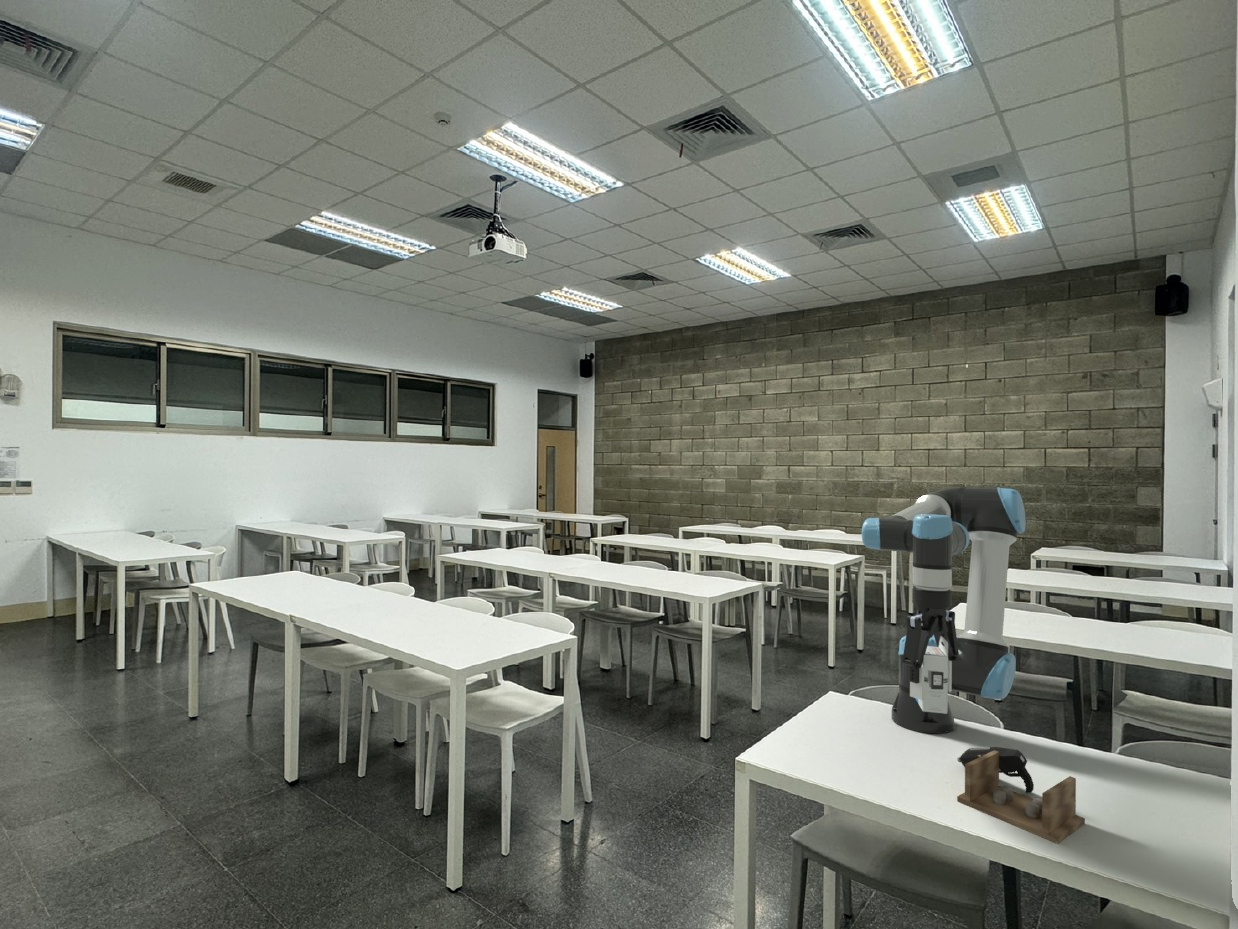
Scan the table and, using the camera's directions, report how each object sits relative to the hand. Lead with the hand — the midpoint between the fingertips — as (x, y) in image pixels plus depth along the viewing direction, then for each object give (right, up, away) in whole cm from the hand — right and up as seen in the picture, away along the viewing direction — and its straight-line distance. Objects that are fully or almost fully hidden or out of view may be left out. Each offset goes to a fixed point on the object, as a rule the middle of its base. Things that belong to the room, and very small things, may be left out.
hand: (930, 693), depth 137 cm
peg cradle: (+13, -20, -10) cm, 25 cm away
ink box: (0, -3, 0) cm, 3 cm away
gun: (+16, -20, +4) cm, 26 cm away
